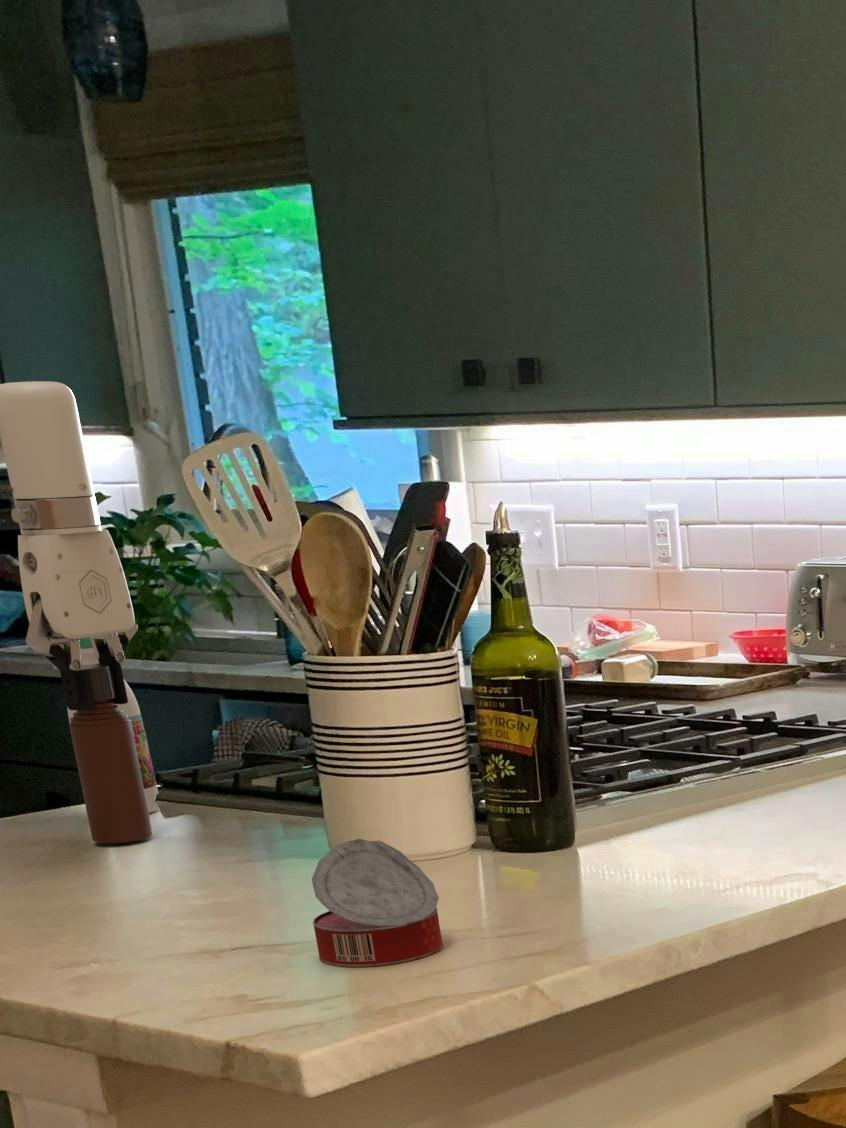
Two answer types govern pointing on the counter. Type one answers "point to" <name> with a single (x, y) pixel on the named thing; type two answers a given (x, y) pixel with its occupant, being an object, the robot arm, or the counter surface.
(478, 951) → the counter surface
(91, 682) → the cap
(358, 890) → the canned food
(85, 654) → the milk bottle
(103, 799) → the sauce bottle
